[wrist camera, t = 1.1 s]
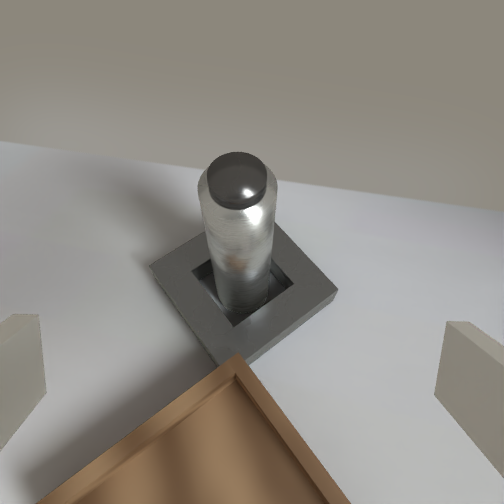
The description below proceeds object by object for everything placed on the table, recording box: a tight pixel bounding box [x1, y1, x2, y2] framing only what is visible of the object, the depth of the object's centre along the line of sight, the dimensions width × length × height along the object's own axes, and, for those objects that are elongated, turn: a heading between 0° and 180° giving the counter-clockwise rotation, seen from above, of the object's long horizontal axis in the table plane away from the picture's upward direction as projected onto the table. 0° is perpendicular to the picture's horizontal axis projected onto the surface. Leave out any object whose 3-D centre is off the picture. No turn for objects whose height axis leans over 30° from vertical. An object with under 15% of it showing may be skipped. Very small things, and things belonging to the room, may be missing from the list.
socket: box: [149, 222, 338, 367], centre depth 33 cm, size 11×11×2 cm
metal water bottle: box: [198, 152, 277, 313], centre depth 27 cm, size 4×4×15 cm
